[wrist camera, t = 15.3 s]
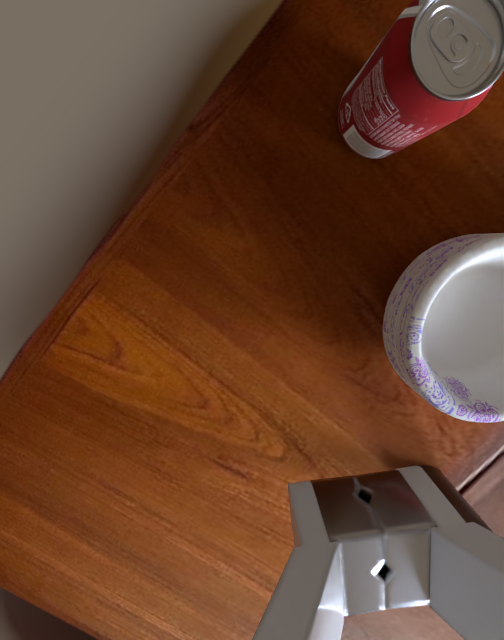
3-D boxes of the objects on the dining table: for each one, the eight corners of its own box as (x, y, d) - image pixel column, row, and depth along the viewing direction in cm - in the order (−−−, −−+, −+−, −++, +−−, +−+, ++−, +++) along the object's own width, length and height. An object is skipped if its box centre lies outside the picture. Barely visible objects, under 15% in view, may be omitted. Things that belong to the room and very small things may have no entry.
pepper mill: (394, 476, 38) (481, 610, 24) (436, 458, 38) (549, 583, 24) (409, 510, 39) (500, 655, 26) (450, 493, 39) (564, 631, 25)
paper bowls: (552, 283, 34) (646, 297, 26) (458, 408, 36) (517, 455, 29) (428, 202, 31) (490, 190, 24) (338, 342, 34) (367, 373, 26)
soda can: (372, 177, 31) (454, 141, 19) (318, 120, 29) (372, 42, 18) (429, 116, 30) (553, 37, 18) (376, 54, 28) (473, -75, 17)
